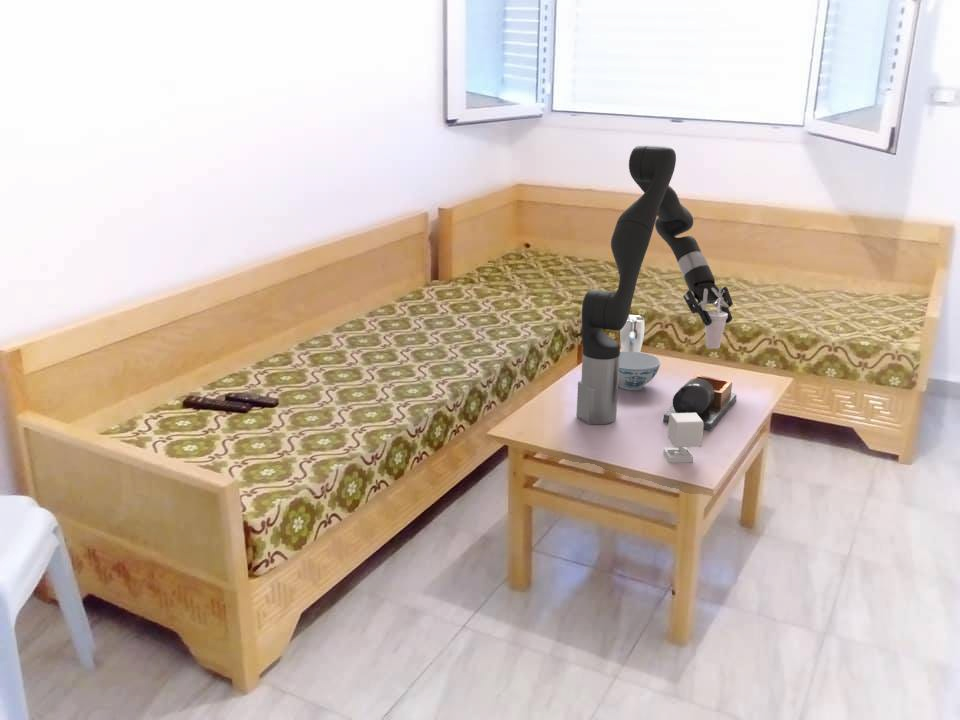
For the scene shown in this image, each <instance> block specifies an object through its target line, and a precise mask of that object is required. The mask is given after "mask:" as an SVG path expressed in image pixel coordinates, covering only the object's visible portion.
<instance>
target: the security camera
mask: <svg viewBox="0 0 960 720" xmlns="http://www.w3.org/2000/svg"><path fill="white" fill-rule="evenodd" d="M703 426H704V423H703V421H702V419H701V418H700V417H699V416H698V414H697V413H670V414H669V423H668V429H667V439H668V440H669V441H670V443H671V445H672V446H673V447H664V448H663V455H664V456H665V458H666V459H667V461H668V462H669V463H671V464H675V463H676V464H678V463H693V462H694V455H693V454H692V452H691V451H690V450H689V447H690V448H691V447H693V448H694V447H696V448H697V447H698V448H701V447H702V445H703V435H704V434H703V433H704V430H703Z"/></svg>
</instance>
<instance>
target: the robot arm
mask: <svg viewBox="0 0 960 720" xmlns="http://www.w3.org/2000/svg"><path fill="white" fill-rule="evenodd" d="M676 156H677V155H676V152H675V150H674V149H673V148H672V147H669V146H664V145H662V146H659V145H648V144H647V145H646V144H642V145H637V146H635V147H634V148H633V149H632V150H631V152H630V154H629V160H628V170H629V174H630V176H631V178H632V180H633V181H634V182H635V184H636V185H637V186H638V187H639V188H640V190H642V192H643V194H642V195H641V196H640V197H639V198H638V199H637V200H636V201H634V202H633V203H632V204H631V205H630V206H629V207H628V208H627V209H625V210H624V211H623V212H622V213H621V215H620V216H619V218H618V219H617V221H616V224H615V227H614V230H613V233H612V236H611V239H610V249H611V252H612V255H613V258H614V262H615V264H616V268H617V269H618V277H619V282H618V287H617V289H616V292H615V291H608V290H600V289H590V290H588V291H587V292H586V293H585V295H584V297H583V299H582V305H581V345H582V360H581V361H582V362H581V363H582V364H581V379H580V381H578V382H577V397H576V417H577V418H579V419H580V420H581V421H583V422H585V423H586V424H587V425H607V424H611V423H613V422H616V420H617V411H618V410H617V408H618V391H619V390H618V389H619V383H618V377H619V361H620V352H621V344H620V343H619V342H618V341H617V340H616V339H614V338H612V337H610V336H609V335H608V334H607V333H606V332H604V330H608V331H609V330H610V331H620V330H621V329H622V328H623V327H624V325H625V324H626V322H627V319H628V316H629V315H630V312H631V308H632V303H633V299H634V295H635V294H634V293H635V290H636V285H637V282H638V278H639V274H640V271H641V267H642V264H643V262H644V259H645V256H646V253H647V250H648V247H649V244H650V241H651V238H652V234H653V231H654V228H655V230H656V232H657V234H658V235H659V236H660V237H661V238H662V239H663V240H664V241H665V243H666V244H667V245H668V247H669V248H670V250H671V251H672V253H673V255H674V257H675V259H676V262H677V263H678V264H677V265H678V267H679V270H680V273H681V274H682V277H683V279H684V281H685V284H686V286H687V289H688V290H687V291H686V292H685V293H684V294H683V299H684V301H685V303H686V304H687V307H688V308H689V310H690V312H691V313H692V314H698V315H699V316H700V319H701V321H702V323H703V325H704V326H705V325H706V326H709V325H710V324H711V323H712V321H711V318H710V316H709V314H708V312H707V311H708V310H707V305H712V306H713V307H715V308H716V309H718V299H719V298H721V300H720V310H719V311H723V312H726V313H727V314H728V318H727V319H726V323H725V324H729V323H730V322H732V321H733V316H732V313H731V311H730V308H731V307H732V306H733V305H734V303H733V300H732V298H731V293H730V292H729V289H728V287H727V286H723V287H722V288H721V287H720V288H719V287H718V286H717V285H716V281H715V276H714V274H713V272H712V270H711V268H710V266H709V264H708V262H707V259H706V258H705V256H704V254H703V253H702V251H701V249H700V246H699V243H698V242H697V240H696V238H695V237H694V236H691V235H685V236H681V237H677V236H679V235H681V234H683V233H686V232H688V231H690V230H691V229H692V227H693V225H694V218H693V215H692V213H691V212H690V210H688V209H687V208H686V207H685V206H684V205H682V204H681V202H680V199H679V197H678V194H677V192H676V190H674V188H673V187H672V186H671V185H670V183H671V181H672V178H673V175H674V171H675V168H676V164H677V163H676V162H677V157H676Z"/></svg>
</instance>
